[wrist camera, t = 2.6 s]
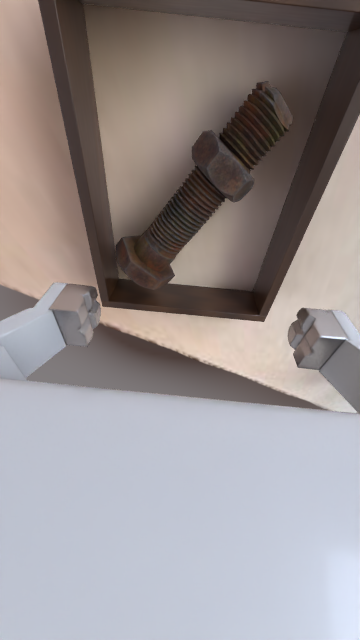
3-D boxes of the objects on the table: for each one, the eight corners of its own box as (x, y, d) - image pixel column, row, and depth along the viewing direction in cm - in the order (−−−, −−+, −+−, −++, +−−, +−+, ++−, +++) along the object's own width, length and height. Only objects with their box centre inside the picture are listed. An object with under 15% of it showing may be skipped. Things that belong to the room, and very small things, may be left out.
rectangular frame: (112, 283, 27) (102, 306, 24) (65, -22, 13) (26, -56, 10) (257, 297, 27) (264, 322, 24) (369, 10, 13) (418, -13, 10)
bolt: (271, 110, 17) (152, 254, 25) (235, 44, 13) (109, 238, 21) (319, 151, 15) (170, 297, 23) (292, 85, 11) (125, 287, 19)
